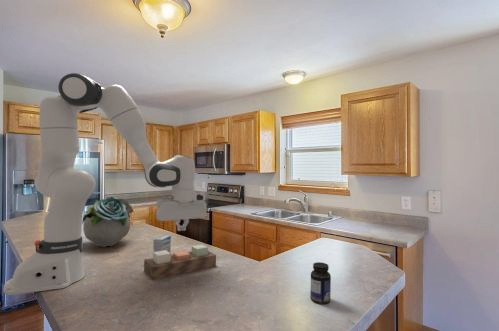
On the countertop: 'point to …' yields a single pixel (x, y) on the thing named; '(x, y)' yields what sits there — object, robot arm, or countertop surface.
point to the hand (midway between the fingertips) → (181, 230)
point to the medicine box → (162, 243)
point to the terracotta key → (181, 255)
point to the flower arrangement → (107, 221)
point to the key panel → (178, 265)
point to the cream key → (161, 257)
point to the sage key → (199, 250)
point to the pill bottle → (320, 283)
